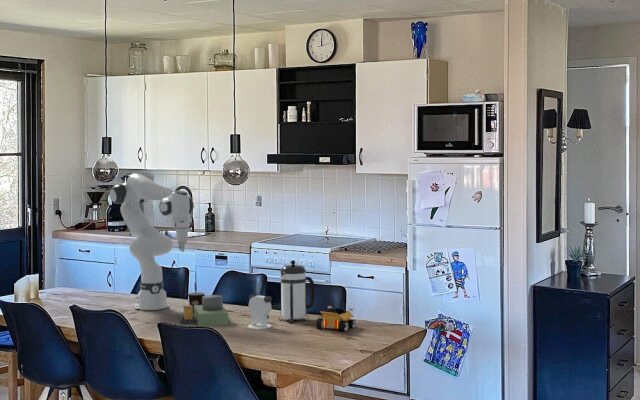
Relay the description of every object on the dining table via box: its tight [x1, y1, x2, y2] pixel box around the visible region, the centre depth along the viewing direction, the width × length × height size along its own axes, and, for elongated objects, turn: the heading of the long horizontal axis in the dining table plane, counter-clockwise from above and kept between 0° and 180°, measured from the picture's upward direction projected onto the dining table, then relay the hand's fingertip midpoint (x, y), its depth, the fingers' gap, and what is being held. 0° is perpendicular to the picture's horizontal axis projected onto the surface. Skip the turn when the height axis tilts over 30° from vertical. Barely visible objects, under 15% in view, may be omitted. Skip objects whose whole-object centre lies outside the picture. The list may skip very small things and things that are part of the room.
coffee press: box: [278, 259, 315, 324], centre depth 416 cm, size 17×16×30 cm
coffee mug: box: [187, 291, 206, 315], centre depth 437 cm, size 12×9×10 cm
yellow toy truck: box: [315, 305, 357, 333], centre depth 396 cm, size 15×15×11 cm
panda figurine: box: [247, 293, 273, 330], centre depth 401 cm, size 12×11×15 cm
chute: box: [183, 304, 194, 320], centre depth 413 cm, size 4×4×8 cm
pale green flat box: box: [179, 294, 229, 327], centre depth 415 cm, size 24×22×12 cm
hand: (181, 250), depth 425 cm, fingers open, 8 cm apart
